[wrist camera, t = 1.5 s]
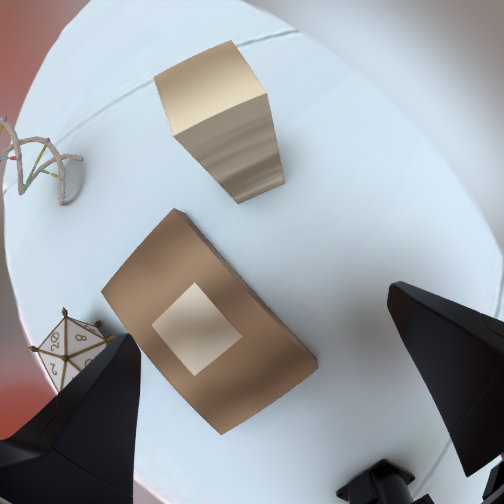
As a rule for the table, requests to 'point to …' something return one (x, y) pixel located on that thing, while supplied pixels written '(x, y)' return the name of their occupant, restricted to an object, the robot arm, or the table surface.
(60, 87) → the table surface
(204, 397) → the walnut slab
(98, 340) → the game die
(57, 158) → the dna model
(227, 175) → the maple pillar
